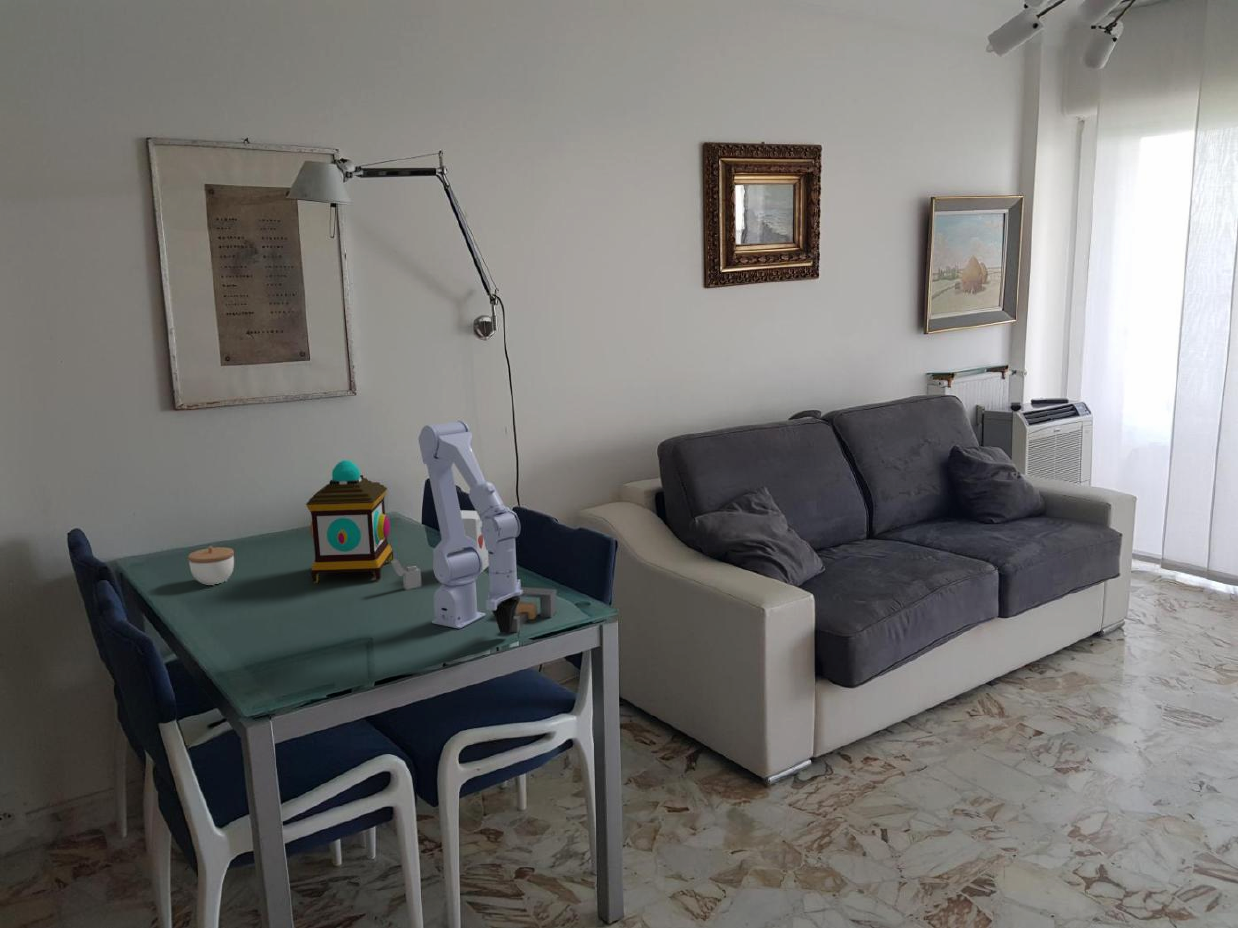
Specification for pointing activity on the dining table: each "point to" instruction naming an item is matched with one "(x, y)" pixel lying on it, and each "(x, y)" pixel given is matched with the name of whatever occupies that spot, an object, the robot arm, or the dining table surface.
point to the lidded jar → (212, 564)
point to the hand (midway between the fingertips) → (505, 631)
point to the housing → (542, 599)
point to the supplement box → (474, 533)
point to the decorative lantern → (349, 524)
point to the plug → (523, 614)
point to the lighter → (408, 575)
